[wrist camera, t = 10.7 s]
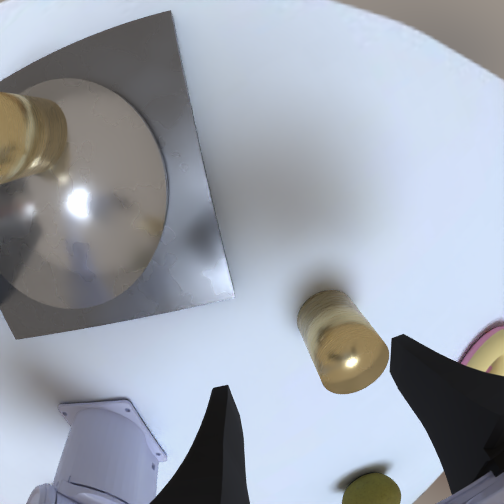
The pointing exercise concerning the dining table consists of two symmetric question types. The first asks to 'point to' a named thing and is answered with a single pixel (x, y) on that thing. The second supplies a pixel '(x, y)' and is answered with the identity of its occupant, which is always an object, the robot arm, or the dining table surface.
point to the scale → (177, 169)
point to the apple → (372, 490)
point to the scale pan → (86, 203)
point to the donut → (487, 353)
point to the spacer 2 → (341, 342)
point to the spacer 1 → (29, 135)
